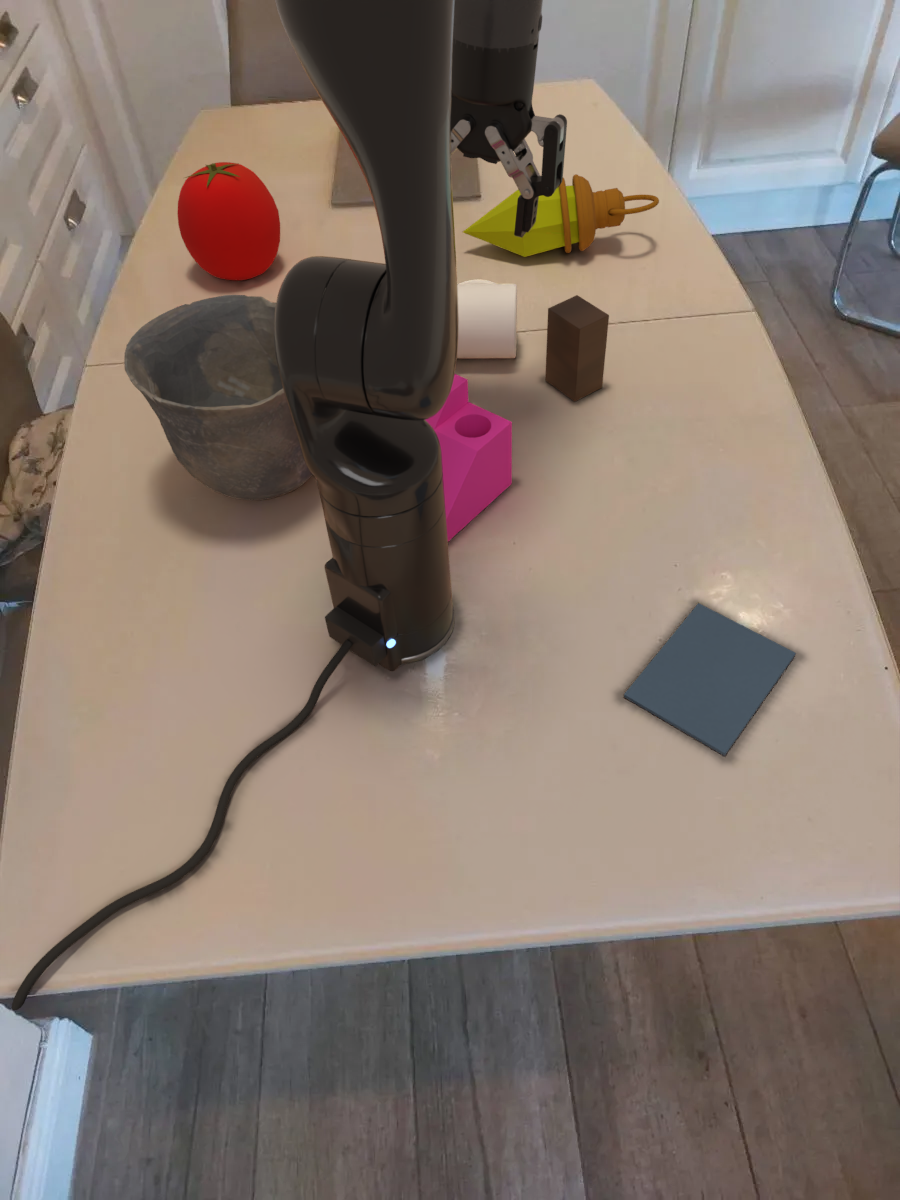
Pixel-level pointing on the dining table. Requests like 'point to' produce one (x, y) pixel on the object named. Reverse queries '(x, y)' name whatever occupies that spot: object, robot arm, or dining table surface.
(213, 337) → the grey deep bowl
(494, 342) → the mug
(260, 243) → the tomato
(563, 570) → the dining table surface
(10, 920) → the dining table surface
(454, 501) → the bracket
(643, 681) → the blue mat
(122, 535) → the dining table surface
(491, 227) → the plumb bob
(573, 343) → the walnut block
